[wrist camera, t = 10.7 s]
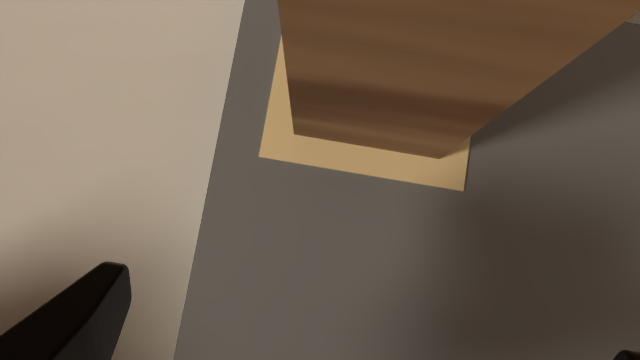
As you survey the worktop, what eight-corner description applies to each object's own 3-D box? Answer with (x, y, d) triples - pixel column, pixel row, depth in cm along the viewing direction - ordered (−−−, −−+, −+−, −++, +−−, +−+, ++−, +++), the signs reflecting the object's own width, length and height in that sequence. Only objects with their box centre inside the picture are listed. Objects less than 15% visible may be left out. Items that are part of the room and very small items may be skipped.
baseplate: (641, 496, 18) (663, 512, 17) (168, 416, 18) (159, 426, 17) (676, 45, 20) (697, 32, 19) (255, -26, 20) (252, -42, 19)
